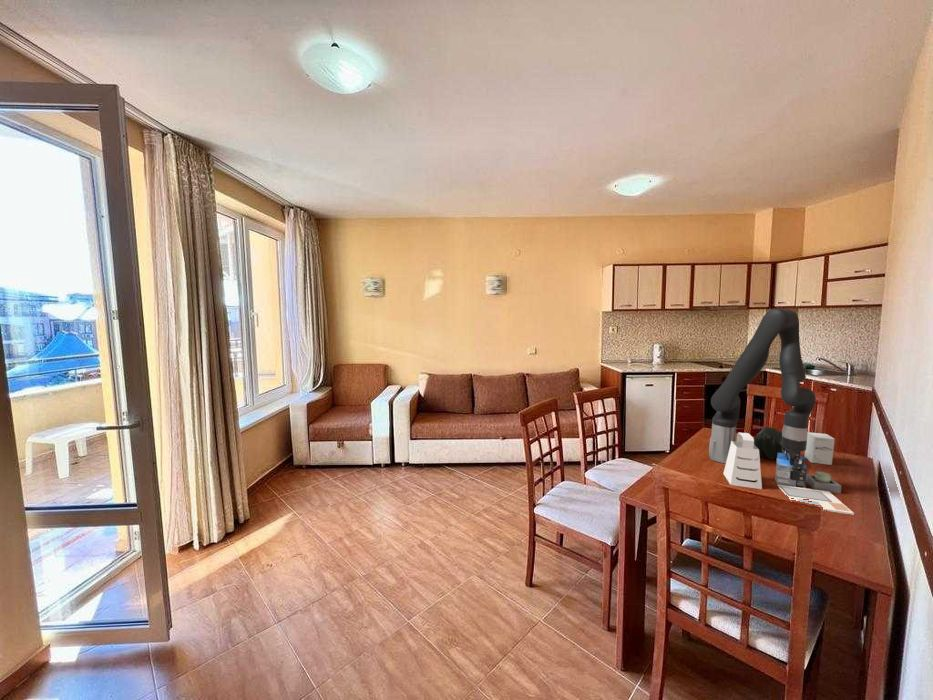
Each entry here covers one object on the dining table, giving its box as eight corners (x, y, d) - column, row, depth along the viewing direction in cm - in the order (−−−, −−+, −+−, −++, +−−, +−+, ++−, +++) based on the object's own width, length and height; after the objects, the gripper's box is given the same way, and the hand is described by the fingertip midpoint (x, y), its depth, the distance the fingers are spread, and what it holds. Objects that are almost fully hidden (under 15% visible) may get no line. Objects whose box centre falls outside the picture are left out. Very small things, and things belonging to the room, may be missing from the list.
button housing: (814, 489, 143) (814, 482, 143) (804, 480, 151) (805, 473, 150) (840, 493, 140) (841, 486, 140) (829, 484, 148) (829, 477, 147)
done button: (818, 484, 144) (819, 475, 144) (812, 480, 148) (813, 470, 148) (832, 486, 142) (833, 477, 142) (826, 481, 147) (827, 472, 146)
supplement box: (811, 463, 167) (814, 436, 166) (803, 456, 174) (806, 431, 172) (832, 465, 164) (835, 438, 163) (823, 459, 171) (826, 433, 170)
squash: (805, 454, 163) (790, 423, 172) (768, 454, 166) (755, 423, 174) (787, 464, 175) (774, 435, 183) (753, 464, 177) (741, 434, 186)
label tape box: (777, 484, 148) (779, 455, 147) (774, 480, 152) (777, 452, 150) (805, 489, 144) (808, 459, 142) (802, 485, 147) (805, 456, 146)
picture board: (796, 506, 132) (796, 504, 132) (777, 485, 147) (777, 484, 147) (854, 514, 126) (854, 513, 126) (828, 492, 141) (828, 491, 141)
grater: (752, 477, 154) (756, 432, 152) (762, 489, 144) (766, 441, 142) (723, 473, 158) (726, 429, 156) (730, 484, 148) (734, 437, 146)
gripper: (775, 429, 153) (771, 468, 155) (790, 441, 140) (786, 483, 142) (797, 432, 150) (793, 471, 153) (815, 444, 137) (811, 486, 139)
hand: (790, 476), depth 147 cm, fingers open, 4 cm apart
